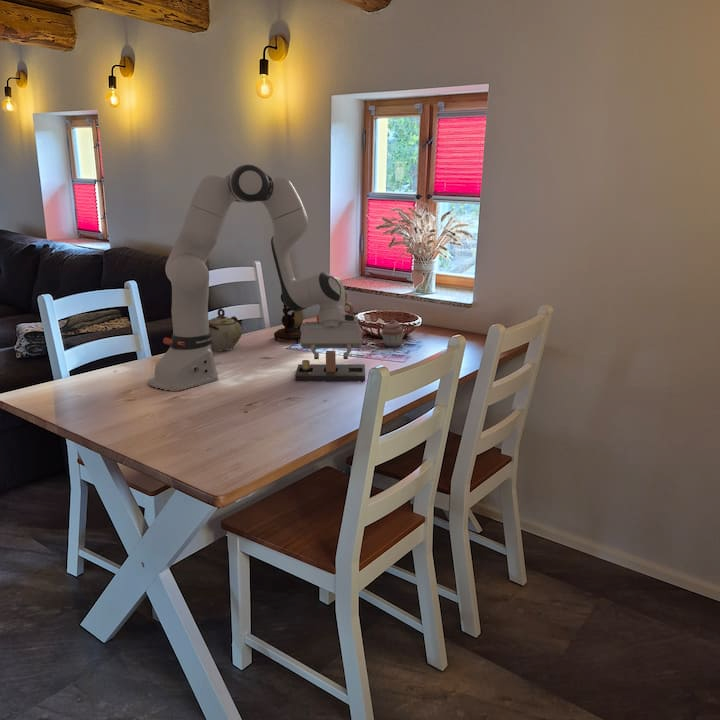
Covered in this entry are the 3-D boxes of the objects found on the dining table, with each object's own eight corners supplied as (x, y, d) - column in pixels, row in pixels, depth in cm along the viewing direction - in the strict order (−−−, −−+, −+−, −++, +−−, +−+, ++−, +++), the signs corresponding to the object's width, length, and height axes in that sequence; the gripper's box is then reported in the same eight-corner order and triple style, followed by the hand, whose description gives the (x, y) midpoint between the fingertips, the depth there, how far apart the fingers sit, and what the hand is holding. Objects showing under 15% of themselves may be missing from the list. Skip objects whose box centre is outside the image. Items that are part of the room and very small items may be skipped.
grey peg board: (295, 381, 194) (294, 366, 193) (298, 370, 206) (298, 355, 204) (365, 381, 194) (365, 366, 193) (364, 370, 206) (364, 355, 205)
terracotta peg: (326, 377, 199) (325, 353, 196) (326, 374, 202) (326, 350, 199) (335, 377, 199) (335, 353, 196) (335, 374, 202) (335, 350, 199)
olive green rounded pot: (222, 339, 244) (219, 302, 239) (254, 344, 238) (252, 305, 233) (189, 352, 226) (186, 312, 222) (223, 357, 220) (220, 316, 216)
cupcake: (375, 345, 235) (376, 320, 232) (387, 340, 243) (388, 315, 240) (397, 349, 231) (398, 323, 228) (409, 343, 238) (409, 318, 235)
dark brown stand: (299, 345, 235) (298, 293, 230) (266, 341, 242) (264, 290, 236) (318, 337, 248) (317, 287, 243) (286, 333, 254) (285, 284, 249)
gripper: (299, 316, 203) (297, 353, 197) (362, 316, 203) (362, 353, 197) (301, 327, 209) (299, 363, 202) (361, 326, 209) (362, 363, 202)
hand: (331, 358), depth 199 cm, fingers open, 8 cm apart
